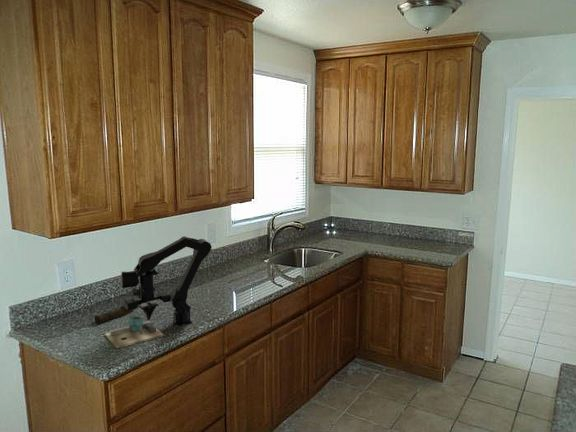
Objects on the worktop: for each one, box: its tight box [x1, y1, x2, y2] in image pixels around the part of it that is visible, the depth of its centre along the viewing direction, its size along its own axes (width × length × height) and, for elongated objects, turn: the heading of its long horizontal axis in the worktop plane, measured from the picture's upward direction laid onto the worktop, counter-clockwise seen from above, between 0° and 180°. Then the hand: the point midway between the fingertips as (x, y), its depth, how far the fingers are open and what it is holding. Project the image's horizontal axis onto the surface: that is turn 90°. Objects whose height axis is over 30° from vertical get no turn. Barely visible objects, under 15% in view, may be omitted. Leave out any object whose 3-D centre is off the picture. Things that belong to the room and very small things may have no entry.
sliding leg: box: [128, 314, 144, 334], centre depth 190 cm, size 4×9×5 cm, turn 38°
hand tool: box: [94, 304, 134, 325], centre depth 206 cm, size 19×4×5 cm, turn 143°
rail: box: [108, 320, 152, 337], centre depth 190 cm, size 17×2×2 cm, turn 128°
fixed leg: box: [145, 322, 157, 333], centre depth 191 cm, size 2×6×4 cm, turn 38°
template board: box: [104, 327, 164, 349], centre depth 187 cm, size 19×15×1 cm
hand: (148, 319), depth 195 cm, fingers closed
